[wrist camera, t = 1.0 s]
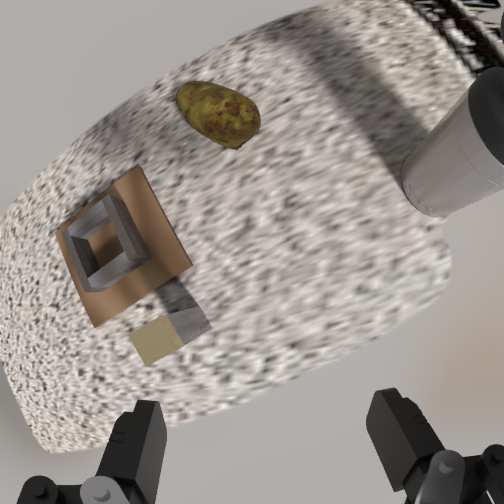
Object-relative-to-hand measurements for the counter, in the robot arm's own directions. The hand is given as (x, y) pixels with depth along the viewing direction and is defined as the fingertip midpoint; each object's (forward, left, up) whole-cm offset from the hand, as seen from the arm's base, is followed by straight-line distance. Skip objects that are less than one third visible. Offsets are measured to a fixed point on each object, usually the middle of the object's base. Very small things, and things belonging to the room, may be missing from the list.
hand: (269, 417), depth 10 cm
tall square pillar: (+7, -7, -25) cm, 27 cm away
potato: (-11, -24, -25) cm, 36 cm away
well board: (+9, -21, -24) cm, 33 cm away
